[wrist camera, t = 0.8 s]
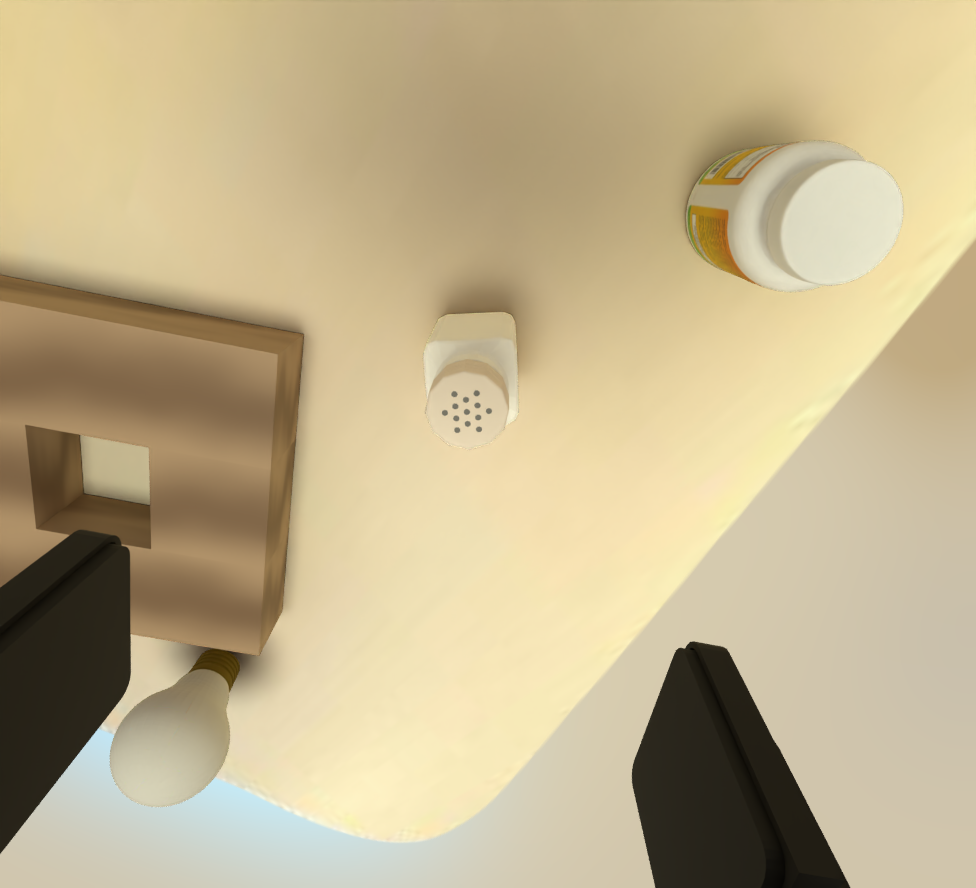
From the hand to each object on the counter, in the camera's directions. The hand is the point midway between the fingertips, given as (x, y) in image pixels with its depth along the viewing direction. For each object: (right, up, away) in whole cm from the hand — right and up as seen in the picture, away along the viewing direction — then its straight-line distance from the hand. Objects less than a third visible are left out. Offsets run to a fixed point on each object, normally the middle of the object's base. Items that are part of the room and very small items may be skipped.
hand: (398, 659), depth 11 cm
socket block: (-19, +3, +25) cm, 31 cm away
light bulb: (-16, -10, +31) cm, 36 cm away
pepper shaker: (+1, +9, +22) cm, 24 cm away
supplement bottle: (+13, +15, +19) cm, 28 cm away
